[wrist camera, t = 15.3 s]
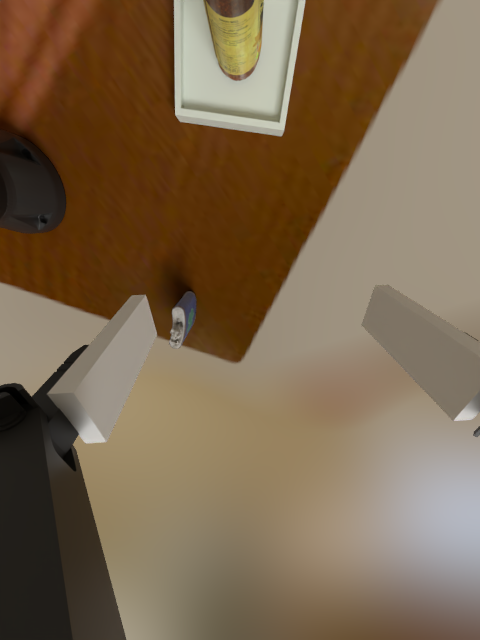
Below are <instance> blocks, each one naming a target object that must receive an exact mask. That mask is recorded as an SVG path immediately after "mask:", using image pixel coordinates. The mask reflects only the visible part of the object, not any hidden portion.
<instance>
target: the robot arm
mask: <svg viewBox="0 0 480 640" xmlns="http://www.w3.org/2000/svg"><path fill="white" fill-rule="evenodd" d="M65 209H66V197H65V192H64V188H63V185H62V182H61V179H60V177H59V175H58V173H57V171H56V169H55V168H54V166H53V165H52V163H51V162H50V161H49V159H48V158H47V157H46V156H45V155H44V154H43V153H42V152H41V151H40V150H39V149H38V148H37V147H36V146H35V145H33V144H32V143H31V142H29V141H28V140H26V139H24V138H22V137H20V136H18V135H16V134H13V133H10V132H7V131H4V130H1V129H0V227H1V228H5V229H9V230H13V231H16V232H21V233H44V232H48V231H51V230H53V229H54V228H56V227H57V226H58V225H59V224H60V223H61V221H62V219H63V217H64V214H65ZM362 326H363V327H364V328H365V329H366V330H367V331H368V332H369V333H370V334H371V335H372V336H373V337H374V339H375V340H377V342H378V343H379V344H380V345H381V346H382V347H383V348H384V349H385V350H386V351H387V352H388V353H389V354H390V355H391V356H392V357H393V358H394V359H395V360H396V362H397V363H398V364H399V365H400V366H401V367H402V368H403V369H404V370H405V371H406V372H407V373H408V374H409V375H410V376H411V377H412V378H413V379H414V380H415V381H416V383H417V384H419V386H420V387H421V388H422V389H423V390H424V391H425V392H426V393H427V394H428V395H429V396H430V397H431V398H432V399H433V400H434V401H435V402H436V403H437V405H439V407H440V408H441V409H442V410H443V411H444V412H445V413H446V414H447V415H448V416H449V417H450V418H451V419H452V420H453V421H457V420H472V419H473V418H474V417H475V416H476V415H477V414H478V413H479V412H480V342H479V341H478V340H476V339H475V338H473V337H472V336H470V335H468V334H467V333H465V332H463V331H461V330H459V329H458V328H456V327H455V326H453V325H451V324H450V323H448V322H446V321H445V320H443V319H442V318H440V317H439V316H437V315H435V314H434V313H432V312H431V311H429V310H427V309H426V308H424V307H423V306H421V305H419V304H418V303H416V302H415V301H413V300H411V299H410V298H408V297H407V296H405V295H403V294H401V293H400V292H399V291H397V290H395V289H394V288H392V287H391V286H389V285H376V286H375V287H374V290H373V293H372V296H371V299H370V302H369V305H368V308H367V311H366V314H365V316H364V319H363V322H362ZM156 336H157V332H156V329H155V325H154V322H153V318H152V315H151V311H150V308H149V304H148V301H147V297H146V295H132V296H131V297H130V298H129V299H128V301H127V302H126V303H125V304H124V305H123V306H122V308H121V309H120V310H119V311H118V312H117V313H116V315H115V316H114V317H113V318H112V319H111V320H110V321H109V323H108V324H107V325H106V326H105V327H104V329H103V330H102V331H101V332H100V333H99V334H98V335H97V337H96V338H95V339H94V340H93V341H92V342H91V344H90V345H84V346H82V347H81V348H79V349H78V350H76V351H75V352H73V353H72V354H71V355H70V356H69V357H68V358H67V359H66V360H65V362H64V364H62V365H61V366H60V367H59V368H58V369H57V372H54V373H53V375H52V376H51V377H50V378H49V379H48V380H47V381H46V382H45V383H44V384H43V385H42V386H41V388H40V389H39V390H38V391H37V392H36V393H35V394H34V395H33V396H32V397H31V396H30V394H29V393H28V392H27V391H26V390H25V389H24V387H23V386H22V385H21V384H16V383H12V384H4V385H1V386H0V640H126V637H125V633H124V629H123V625H122V622H121V618H120V614H119V611H118V606H117V603H116V599H115V595H114V591H113V588H112V584H111V580H110V577H109V573H108V569H107V565H106V561H105V557H104V554H103V550H102V546H101V542H100V538H99V535H98V531H97V527H96V523H95V520H94V516H93V512H92V508H91V504H90V501H89V497H88V493H87V489H86V486H85V482H84V478H83V474H82V470H81V467H80V463H79V459H78V455H77V452H76V449H75V448H74V446H73V443H74V441H75V440H76V438H77V436H78V435H80V437H81V438H82V439H83V441H84V442H85V443H99V442H107V440H108V438H109V436H110V434H111V432H112V429H113V428H114V426H115V423H116V421H117V419H118V417H119V415H120V413H121V410H122V408H123V406H124V404H125V402H126V400H127V398H128V396H129V394H130V391H131V389H132V387H133V385H134V383H135V381H136V379H137V376H138V374H139V372H140V370H141V368H142V366H143V364H144V362H145V359H146V357H147V355H148V353H149V351H150V349H151V347H152V345H153V342H154V340H155V338H156ZM479 435H480V426H479V427H478V428H477V429H476V430H475V431H474V434H473V436H475V437H478V436H479Z"/></svg>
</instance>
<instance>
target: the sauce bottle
mask: <svg viewBox="0 0 480 640" xmlns="http://www.w3.org/2000/svg"><path fill="white" fill-rule="evenodd" d="M203 2H204V6H205V11H206V15H207V20H208V24H209V29H210V33H211V38H212V42H213V47H214V51H215V55H216V58H217V60H218V64H219V67H220V69H221V70H222V72H223V73H224V74H225V75H226V76H227V77H229V78H231V79H232V80H235V81H241V80H243V79H246V78H247V77H249V76H250V75H251V74H252V73H253V71H254V70H255V68H256V65H257V62H258V60H259V56H260V51H261V45H262V26H263V8H264V0H203Z"/></svg>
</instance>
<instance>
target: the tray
mask: <svg viewBox="0 0 480 640" xmlns="http://www.w3.org/2000/svg"><path fill="white" fill-rule="evenodd" d="M304 6H305V0H264V8H263V26H262V45H261V51H260V56H259V60H258V62H257V65H256V68H255V70H254V71H253V73H252V74H251V75H250V76H249V77H247V78H246V79H243V80H241V81H235V80H232V79H231V78H229V77H227V76H226V75H225V74H224V73H223V72H222V70H221V69H220V67H219V64H218V60H217V58H216V55H215V51H214V47H213V42H212V38H211V33H210V29H209V24H208V20H207V15H206V11H205V6H204V2H203V0H174V54H175V115H176V117H177V118H178V119H179V121H180V122H186V123H193V124H200V125H207V126H214V127H221V128H227V129H234V130H241V131H248V132H255V133H262V134H269V135H276V136H282V134H283V132H284V128H285V122H286V115H287V109H288V103H289V97H290V91H291V85H292V79H293V73H294V67H295V61H296V55H297V49H298V43H299V36H300V30H301V24H302V18H303V12H304Z"/></svg>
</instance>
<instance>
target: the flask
mask: <svg viewBox="0 0 480 640" xmlns="http://www.w3.org/2000/svg"><path fill="white" fill-rule="evenodd" d="M195 316H196V296H195V293H192V292H191V291H188V292H186V293H185V294H184V296H183V297H182V298H181V299H180V301H179V302H178V303H177V304H176V306H175V307H174V308H173V309H172V318H173V327H172V329H171V331H170V333H172V334H171V338H170V341H169V344H170V346H171V347H172V348H176V349H177V348H180V347H181V345H182V343H183V341H184V339H185V338H186V336H187V334H188V332H189V330H190V329H191V327H192V325H193V324H194V321H195Z"/></svg>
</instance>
